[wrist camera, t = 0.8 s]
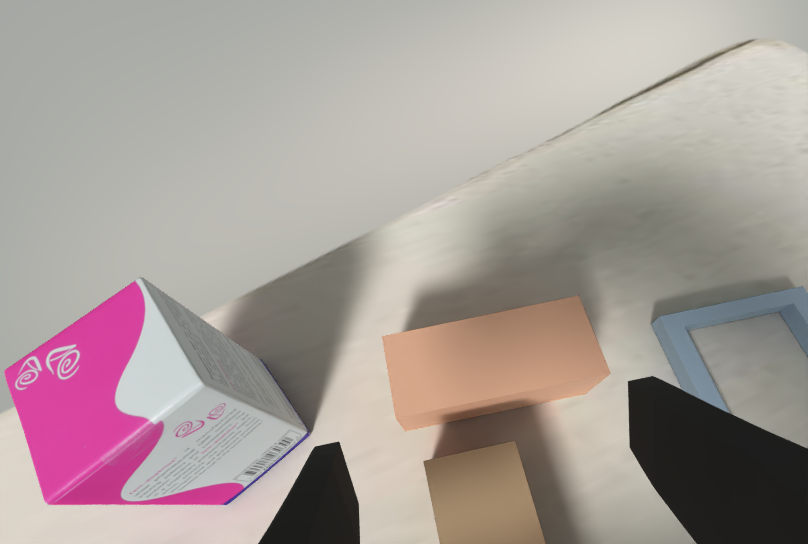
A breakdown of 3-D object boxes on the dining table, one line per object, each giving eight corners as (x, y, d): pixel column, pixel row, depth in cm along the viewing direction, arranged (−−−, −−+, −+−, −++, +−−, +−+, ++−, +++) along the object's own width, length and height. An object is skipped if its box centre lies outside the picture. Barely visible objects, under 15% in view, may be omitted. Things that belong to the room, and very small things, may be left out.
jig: (1070, 598, 18) (1108, 604, 17) (737, 666, 18) (755, 676, 17) (839, 284, 25) (856, 275, 24) (599, 334, 25) (605, 327, 24)
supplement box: (260, 356, 27) (142, 269, 17) (313, 434, 24) (213, 388, 14) (176, 420, 25) (-7, 368, 15) (224, 510, 23) (43, 518, 13)
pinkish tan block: (584, 394, 24) (610, 373, 20) (405, 431, 24) (395, 418, 20) (559, 327, 26) (578, 295, 22) (393, 361, 26) (382, 336, 22)
